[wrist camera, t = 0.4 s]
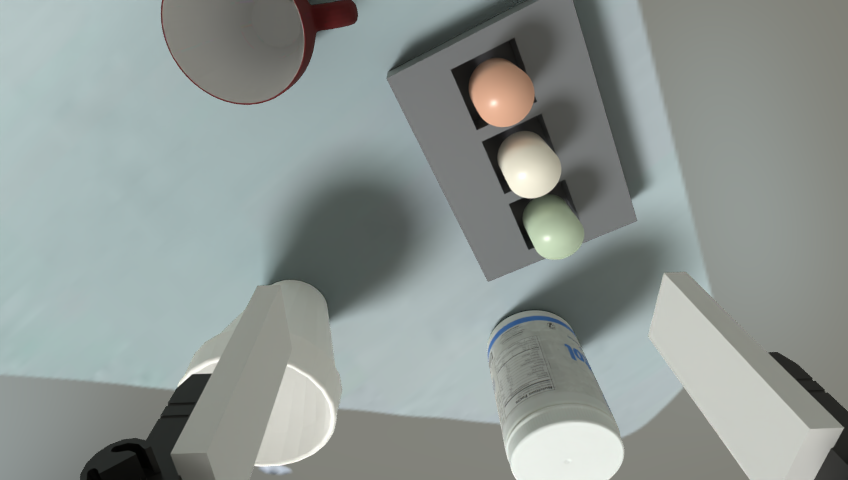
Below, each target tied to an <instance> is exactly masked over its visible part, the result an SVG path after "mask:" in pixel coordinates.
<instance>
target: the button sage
mask: <svg viewBox="0 0 848 480" xmlns="http://www.w3.org/2000/svg"><path fill="white" fill-rule="evenodd" d="M522 220H523V224H524V227H525V229H526V231H527V233H528V235H529V237H530V239H531V241H532V243H533V245H534V247H535V249H536V251H537V252H538V253H539V254H540V255H541V256H542V257H544V258H547V259H551V260H559V259H564V258H566V257H569V256H570V255H572V254H573V253H575V252H576V251H577V250H578V249H579V248H580V246H581V244H582V242H583V240H584V228H583V226H582V224H581V223H580V221H579V220H578V218H577V217H576V216H575V214H574V213H573V212H572V210H571V209H570V207H569V206H568V205H567V203H566V202H565V201H564V200H563V199H562V198H561V197H559V196H556V195H552V194H546V195H543V196H541V197H538V198H535V199H533V200H532V201H530V202H529V203H528V205H527V206H526V208H525V209H524V212H523V217H522Z"/></svg>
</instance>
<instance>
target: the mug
mask: <svg viewBox="0 0 848 480" xmlns="http://www.w3.org/2000/svg"><path fill="white" fill-rule="evenodd" d="M357 17H358V12H357V8H356V5H355V3H354V2H353V1H352V0H341V1H335V2H330V3H323V4H317V5H311V4H309V2H308V1H307V0H162V5H161V23H162V29H163V34H164V38H165V41H166V44H167V46H168V49H169V51H170V53H171V55H172V57H173V59H174V60H175V62H176V63H177V65H178V66H179V68H180V69H181V70H182V72H183V73H184V74H185V75H186V76H187V77H188V78H189V79H190V80H191V81H192V82H193V83H194V84H195V85H196V86H198V87H199V88H200V89H202V90H203V91H205V92H206V93H208V94H210V95H211V96H213V97H216V98H218V99H220V100H223V101H226V102H230V103H234V104H243V105H251V104H259V103H263V102H266V101H269V100H272V99H274V98H276V97H278V96H279V95H281V94H282V93H284V92H285V91H286V90H288V89H289V88H290V87H292V86H293V85H294V84H295V83H296V82H297V81H298V80H299V78H300V77H301V76H302V75H303V73H304V72H305V70H306V68H307V66H308V64H309V62H310V59H311V57H312V53H313V49H314V44H315V37H316V33H317V32H318V31H322V30H328V29H334V28H340V27H344V26H349V25H352V24H354V23H355V22H356V21H357Z"/></svg>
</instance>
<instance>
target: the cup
mask: <svg viewBox="0 0 848 480" xmlns="http://www.w3.org/2000/svg"><path fill="white" fill-rule="evenodd" d="M272 285H281V291H282V296H283V301H284V307H285V312H286V318H287V323H288V329H289V334H290V339H291V345H292V351H291V354H290V357H289V360H288V363H287V366H286V369H285V372H284V376H283V379H282V382H281V385H280V388H279V391H278V394H277V397H276V400H275V403H274V406H273V409H272V412H271V415H270V418H269V421H268V424H267V428H266V431H265V434H264V437H263V440H262V443H261V446H260V449H259V452H258V455H257V458H256V461H255V464H254V465H255V466H279V465H285V464H288V463H293V462H297V461H300V460H302V459H304V458H306V457H308V456H310V455H312V454H314V453H316V452H317V451H318V450H319V449H320V448H322V447H323V446H324V445H325V444H326V443H327V442H328V440H329V438H330V437H331V435H332V434H333V432H334V430H335V425H336V420H337V411H338V407H339V403H340V398H341V393H342V386H341V380H340V375H339V373H338V371H337V369H336V367H335V361H334V353H333V346H332V338H331V330H330V323H329V315H328V308H327V302H326V300H325V298H324V296H323V295H322V294H321V293H320V292H319V291H318V290H317V289H316V288H314V287H313V286H312V285H310V284H307V283H305V282H302V281H297V280H283V281H279V282H276V283H274V284H272ZM244 311H245V310H244ZM244 311H243V312H242V313H241V314H240V315H239V316H238V317H237V318H236V319H235V320H234V321H233V322H232V323H231V324H229V325H228V326H227V327H226V328H225V329H224V330H223V331H222V332H221V333H220V334H218V335H217V336H215V337H213V338H212V339H210V340H208V341H207V342H205V343H204V344H203V345H202V346H201V347H200V349H199V350H198V351H197V352H196V353H195V354H194V356H193V358H192V360H191V362H190V365H189V367H188V369H187V371H186V373H185V375H184V376H183V378H182V379H181V380H180V381H179V384H178V386H180V385H181V384H182V383H183V382H184V381H185V380H186V379H187V378H189V377H190V376H191V375H192V374H211V373H213V371H214V369H215V367H216V365H217V363H218V361H219V359H220V357H221V355H222V353H223V352H224V350H225V348H226V346H227V344H228V342H229V340H230V338H231V336H232V334H233V332H234V330H235V328H236V326H237V325H238V323H239V321H240V319H241V317H242V315H243V313H244ZM178 386H177V387H178Z"/></svg>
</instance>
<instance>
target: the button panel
mask: <svg viewBox="0 0 848 480" xmlns="http://www.w3.org/2000/svg"><path fill="white" fill-rule="evenodd" d="M492 58H503V59H506V60H508V61H510V62H512V63H513V64H514V65H516V66H517V67H518V68H520V69H521V70H522V71H524V72H525V73H526V74H527V75H528V76H529V78H530V79H531V81H532V83H533V86H534V92H535V96H534V102H533V105H532V108H531V110H530V111H529V113H528V114H527V115H526V117H525V118H524V119H523V120H521V121H520V122H518V123H517V124H514V125H512V126H508V127H496V126H493V125H491V124H489V123H487V122H486V121H485V120H483V119H482V117H481V116H480V115H479V113H478V111H477V109H476V107H475V106H474V104H473V102H472V100H471V98H470V95H469V80H470V77H471V75H472V73H473V71H474V70H475V69H476V67H477V66H478V65H480V64H481V63H482V62H484V61H486V60H488V59H492ZM387 80H388V82H389V84H390V86H391V88H392V90H393V92H394V94H395V96H396V98H397V100H398V102H399V104H400V107H401V109H402V111H403V113H404V115H405V117H406V119H407V121H408V123H409V125H410V127H411V129H412V131H413V133H414V135H415V137H416V139H417V141H418V143H419V145H420V147H421V149H422V151H423V153H424V155H425V157H426V159H427V161H428V163H429V165H430V167H431V169H432V171H433V173H434V175H435V177H436V179H437V181H438V183H439V185H440V187H441V189H442V191H443V193H444V195H445V197H446V199H447V201H448V203H449V205H450V207H451V209H452V211H453V213H454V215H455V217H456V219H457V221H458V223H459V225H460V227H461V229H462V231H463V233H464V235H465V237H466V239H467V241H468V243H469V245H470V247H471V249H472V251H473V253H474V255H475V257H476V259H477V261H478V263H479V265H480V267H481V269H482V271H483V273H484V275H485V277H486V279H487V281H488V282H489V281H491V280H494V279H496V278H499V277H501V276H503V275H506V274H508V273H511V272H513V271H516V270H518V269H521V268H523V267H526V266H528V265H530V264H533V263H535V262H538V261H540V260H543V259H545V258H544V257H542V256H541V255H540V254H539V253H538V252H537V251H536V249H535V247H534V245H533V243H532V241H531V239H530V237H529V235H528V233H527V231H526V229H525V227H524V224H523V220H522V217H523V212H524V209H525V208H526V206H527V205H528V203H529V202H530V201H532V200H533V199H535V198H524V197H521V196H519V195H517V194H515V193H514V192H513V191H512V190H511V188H510V187H509V185H508V183H507V181H506V179H505V177H504V175H503V173H502V171H501V169H500V167H499V165H498V160H497V155H498V150H499V148H500V146H501V144H502V143H503V141H504V140H505V139H506V138H507V137H509V136H510V135H512V134H514V133H516V132H520V131H530V132H533V133H536V134H537V135H539V136H540V137H541V138H542V139H543V140H544V141H545V142H546V144H547V145H548V146H549V147H550V148H551V149H552V150H553V152H554V153H555V154H556V155H557V156H558V158H559V160H560V163H561V176H560V179H559V181H558V183H557V184H556V186H555V187H554V188H553V189H552V190H551V191H550V192H549V193H547V194H552V195H556V196H559V197H561V198H562V199H563V200H564V201H565V202H566V203H567V205H568V206H569V207H570V209H571V210H572V212H573V213H574V214H575V216H576V217H577V218H578V220H579V221H580V223H581V224H582V226H583V228H584V240H583V242H582V243H584V242H587V241H589V240H592V239H594V238H597V237H599V236H601V235H604V234H606V233H609V232H611V231H614V230H616V229H619V228H621V227H623V226H626V225H628V224H631V223H633V222H636V221H637V218H636V215H635V211H634V208H633V205H632V201H631V198H630V194H629V191H628V187H627V184H626V181H625V177H624V174H623V170H622V167H621V163H620V160H619V157H618V153H617V150H616V146H615V143H614V140H613V136H612V133H611V129H610V126H609V122H608V119H607V116H606V112H605V109H604V105H603V102H602V98H601V95H600V92H599V88H598V85H597V81H596V78H595V74H594V71H593V68H592V64H591V61H590V57H589V54H588V50H587V47H586V44H585V40H584V37H583V33H582V30H581V27H580V23H579V20H578V16H577V13H576V9H575V6H574V3H573V0H526V1H524V2H523V3H521V4H519V5H517V6H515V7H513V8H511V9H509V10H507V11H505V12H503V13H501V14H499V15H497V16H495V17H494V18H492V19H490V20H488V21H486V22H484V23H482V24H480V25H478V26H476V27H474V28H472V29H470V30H468V31H466V32H465V33H463V34H461V35H459V36H457V37H455V38H453V39H451V40H449V41H447V42H445V43H443V44H441V45H439V46H437V47H436V48H434V49H432V50H430V51H428V52H426V53H424V54H422V55H420V56H418V57H416V58H414V59H412V60H410V61H408V62H407V63H405V64H403V65H401V66H399V67H397V68H395V69H393V70H391V71H389V72H388V75H387ZM545 195H546V194H545Z"/></svg>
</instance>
